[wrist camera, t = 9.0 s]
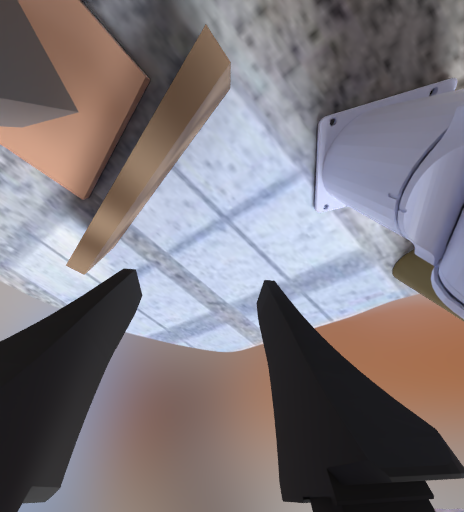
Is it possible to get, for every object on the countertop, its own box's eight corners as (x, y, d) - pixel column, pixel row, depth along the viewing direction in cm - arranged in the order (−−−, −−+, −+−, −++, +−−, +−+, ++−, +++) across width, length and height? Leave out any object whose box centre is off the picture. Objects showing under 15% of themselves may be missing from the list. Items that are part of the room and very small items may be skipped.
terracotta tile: (-109, -217, 7) (-144, -255, 6) (150, 79, 12) (145, 76, 11) (-92, 73, 12) (-111, 69, 11) (88, 197, 17) (83, 199, 16)
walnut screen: (214, 65, 12) (205, 24, 7) (230, 88, 12) (230, 62, 8) (100, 239, 19) (65, 265, 15) (113, 247, 20) (84, 274, 16)
